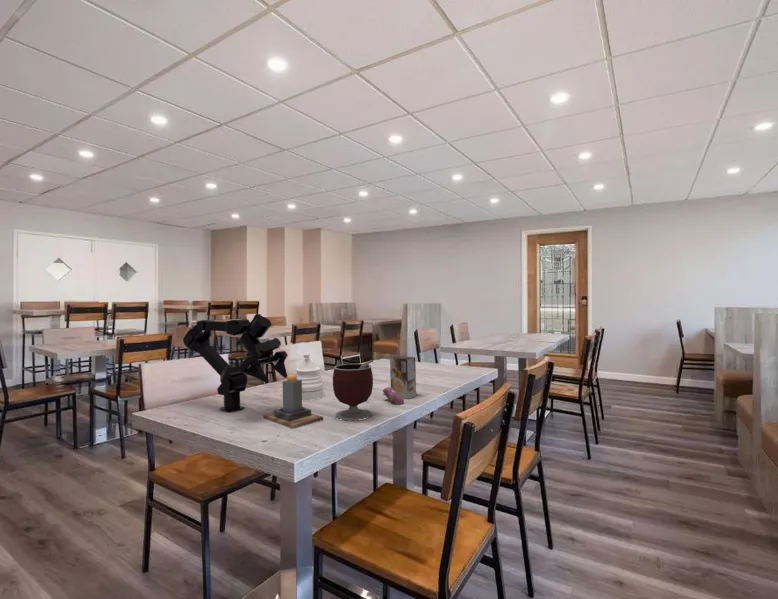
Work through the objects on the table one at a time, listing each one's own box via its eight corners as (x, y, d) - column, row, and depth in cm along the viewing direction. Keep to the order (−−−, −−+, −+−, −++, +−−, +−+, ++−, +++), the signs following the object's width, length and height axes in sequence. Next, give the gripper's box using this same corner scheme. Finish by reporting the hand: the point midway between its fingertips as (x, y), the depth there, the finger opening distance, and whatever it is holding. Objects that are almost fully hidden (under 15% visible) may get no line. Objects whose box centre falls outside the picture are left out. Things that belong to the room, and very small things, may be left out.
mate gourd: (324, 417, 140) (323, 359, 139) (350, 408, 151) (349, 354, 151) (360, 425, 131) (359, 362, 131) (385, 414, 142) (384, 357, 142)
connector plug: (283, 416, 138) (282, 375, 138) (292, 413, 142) (291, 373, 142) (293, 418, 136) (292, 376, 136) (302, 414, 140) (301, 374, 140)
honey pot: (320, 400, 164) (319, 355, 163) (288, 400, 164) (288, 356, 164) (326, 393, 176) (325, 351, 176) (296, 393, 177) (296, 351, 177)
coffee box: (417, 396, 168) (416, 357, 168) (408, 399, 163) (407, 359, 163) (399, 393, 174) (398, 355, 174) (389, 396, 169) (389, 357, 169)
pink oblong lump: (386, 403, 164) (379, 388, 163) (395, 397, 165) (388, 382, 164) (396, 409, 154) (388, 393, 153) (405, 402, 156) (398, 387, 155)
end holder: (263, 417, 141) (263, 409, 141) (292, 410, 150) (292, 402, 150) (292, 428, 128) (292, 419, 128) (323, 419, 137) (323, 410, 137)
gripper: (245, 333, 136) (270, 368, 131) (283, 329, 153) (307, 360, 148) (228, 355, 140) (252, 391, 135) (268, 349, 156) (290, 380, 151)
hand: (277, 379), depth 142 cm, fingers open, 9 cm apart
